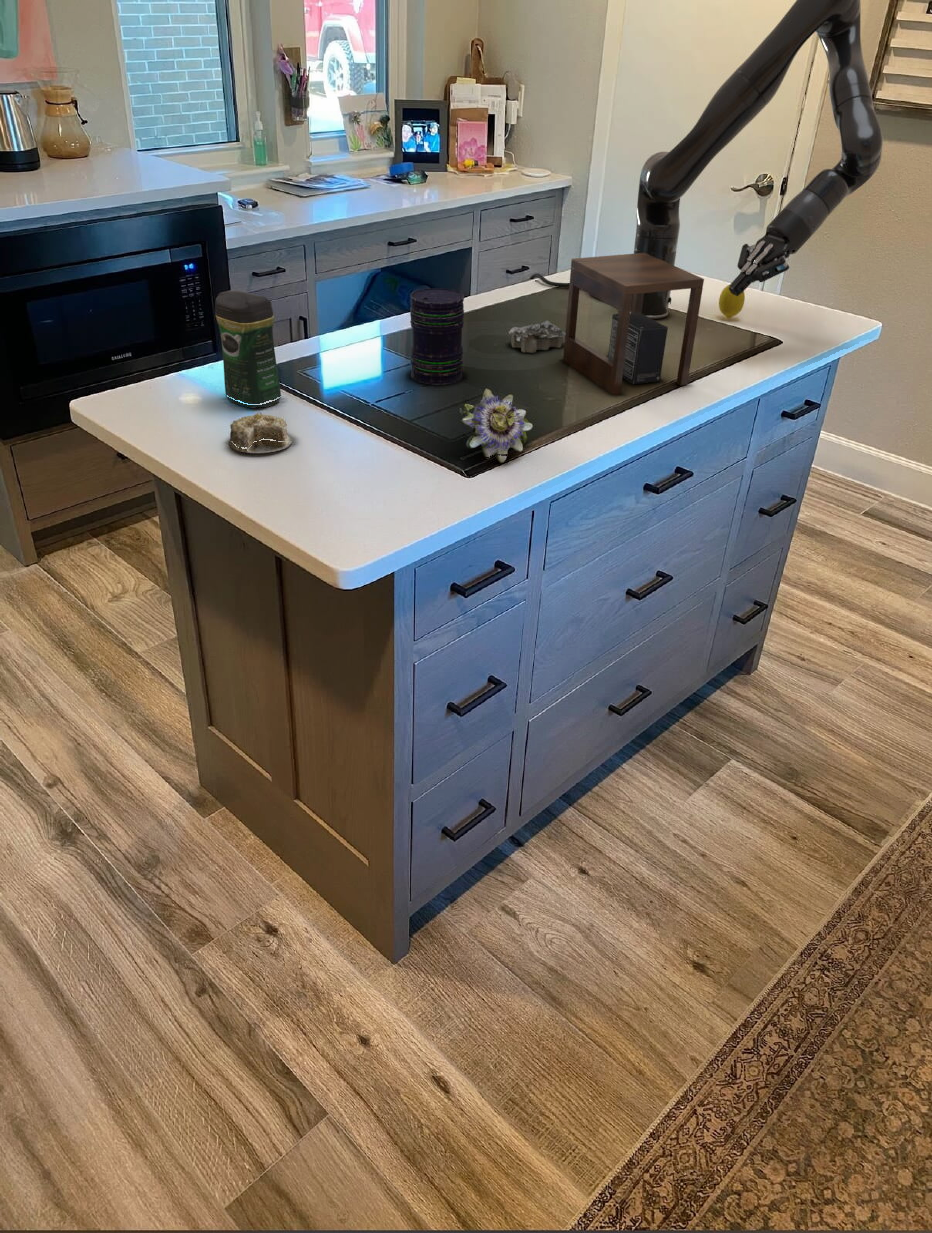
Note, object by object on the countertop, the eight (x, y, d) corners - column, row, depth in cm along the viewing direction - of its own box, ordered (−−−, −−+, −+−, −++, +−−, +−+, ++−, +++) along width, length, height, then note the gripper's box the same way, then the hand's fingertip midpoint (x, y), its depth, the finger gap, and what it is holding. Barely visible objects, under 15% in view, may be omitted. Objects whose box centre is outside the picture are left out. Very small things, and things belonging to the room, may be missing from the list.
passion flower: (499, 491, 151) (473, 449, 141) (461, 456, 157) (433, 413, 147) (552, 445, 151) (529, 399, 141) (512, 411, 157) (487, 365, 147)
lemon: (744, 318, 215) (751, 282, 210) (736, 324, 211) (742, 287, 206) (720, 313, 217) (727, 278, 213) (712, 319, 213) (718, 283, 209)
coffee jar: (289, 400, 167) (280, 293, 156) (254, 413, 162) (242, 303, 151) (253, 387, 172) (242, 282, 161) (218, 399, 167) (204, 292, 156)
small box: (662, 381, 179) (670, 326, 173) (632, 385, 177) (640, 330, 171) (633, 364, 187) (640, 310, 181) (605, 367, 185) (610, 313, 179)
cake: (218, 443, 152) (213, 411, 150) (274, 430, 157) (270, 399, 155) (246, 460, 145) (241, 426, 143) (303, 446, 151) (300, 413, 148)
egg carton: (525, 355, 190) (526, 335, 188) (505, 344, 196) (506, 324, 193) (568, 347, 195) (569, 327, 193) (547, 336, 200) (548, 317, 198)
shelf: (563, 360, 188) (571, 258, 177) (632, 352, 193) (644, 252, 182) (613, 395, 173) (626, 286, 162) (687, 385, 178) (704, 278, 167)
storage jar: (438, 363, 185) (438, 285, 177) (473, 376, 179) (475, 296, 171) (399, 374, 179) (398, 294, 171) (435, 389, 173) (435, 306, 165)
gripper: (828, 243, 178) (761, 314, 180) (783, 228, 188) (721, 296, 190) (812, 215, 173) (744, 288, 176) (767, 201, 183) (703, 270, 186)
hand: (732, 292), depth 183 cm, fingers closed
